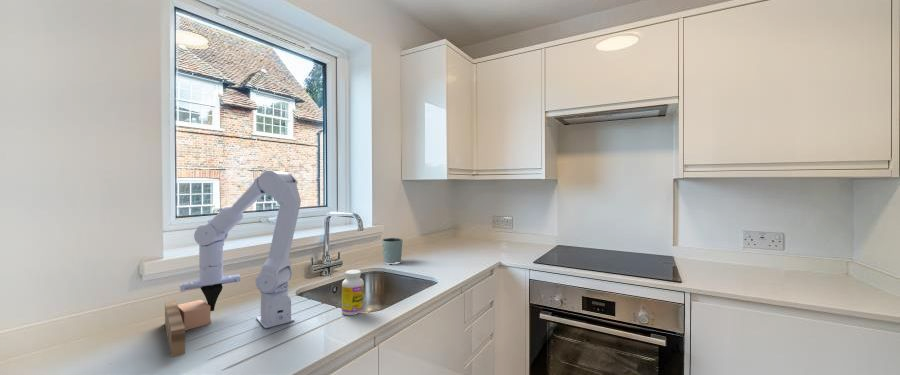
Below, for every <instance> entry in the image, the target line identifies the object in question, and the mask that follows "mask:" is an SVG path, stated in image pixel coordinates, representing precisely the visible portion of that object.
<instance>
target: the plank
mask: <svg viewBox="0 0 900 375" xmlns="http://www.w3.org/2000/svg"><path fill="white" fill-rule="evenodd" d="M178 305H179V304H178V302H177V300H174V301H173V300H172V301H168V302H164V326H165V331H166V335H167V341H168V346H169V350H170V352H169V353H170V355H171V356H170V357H171V358H174V357H176V356H181V355H184V354H186V330H185V326H184V323H183V320H182V317H181V314H180V311H179V308H178Z"/></svg>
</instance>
